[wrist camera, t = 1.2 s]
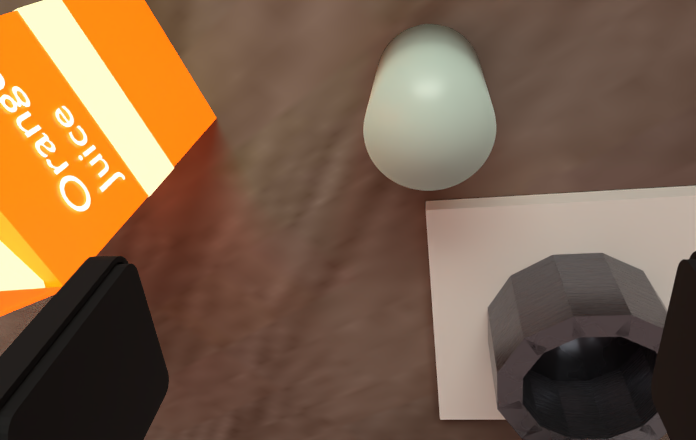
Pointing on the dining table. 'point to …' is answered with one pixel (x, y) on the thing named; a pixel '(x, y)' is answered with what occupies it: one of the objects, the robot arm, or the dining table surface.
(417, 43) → the egg
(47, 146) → the orange juice
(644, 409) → the faceted grey ring
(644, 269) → the mounting board
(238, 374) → the dining table surface
